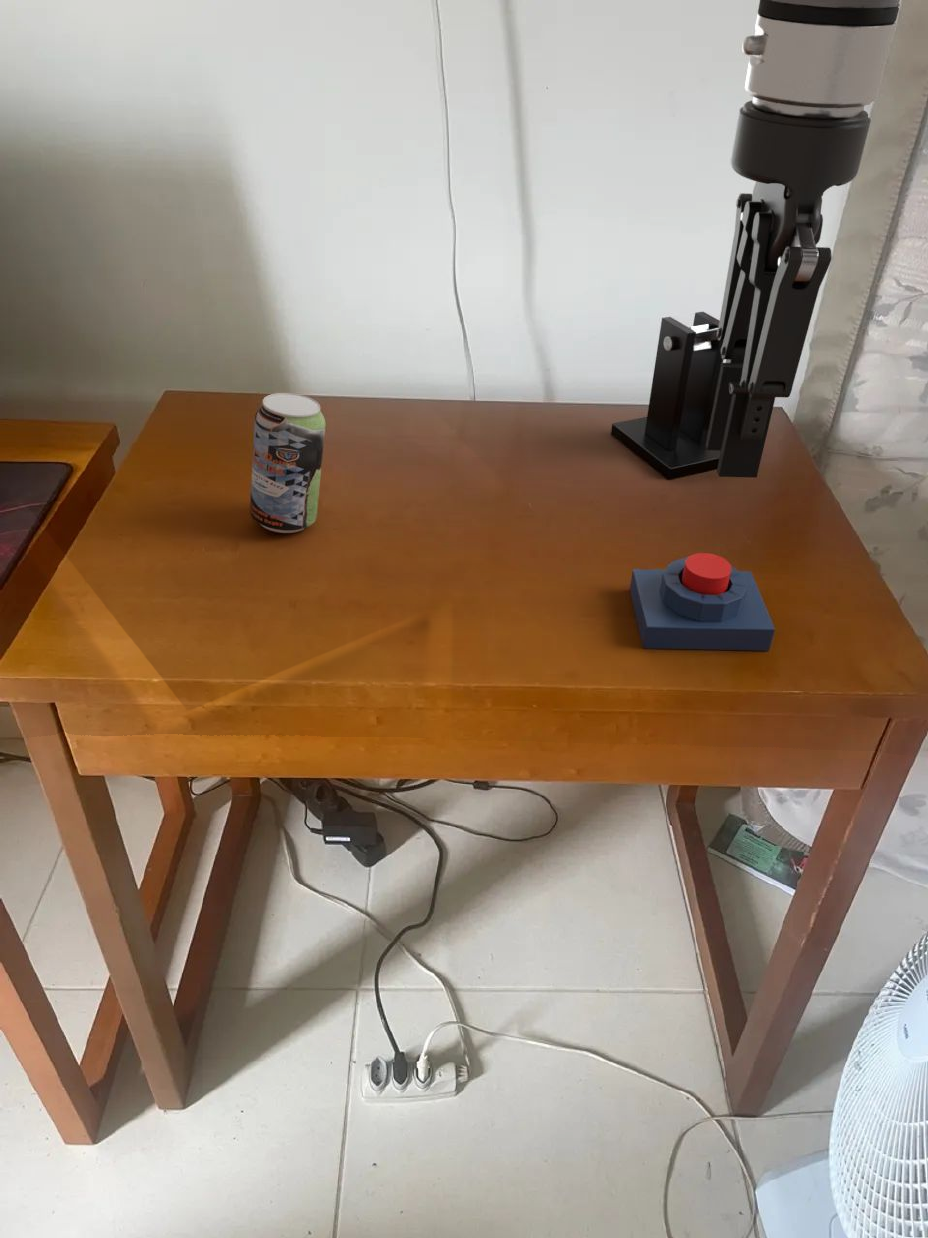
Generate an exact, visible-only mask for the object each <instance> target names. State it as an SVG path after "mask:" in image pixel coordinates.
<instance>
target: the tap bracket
mask: <svg viewBox="0 0 928 1238" xmlns="http://www.w3.org/2000/svg"><path fill="white" fill-rule="evenodd" d="M719 322H720V319H717V318H716V317H714V316H712V315H710V314H708V313H707V312H705V311H698V312H695V313H694V318H693V324H692V326H698V325H704V324H709V330H711V329H715V328H719ZM689 327H690V326H688V325H686V324H683V323H682V322H680V321H678V320H677V319H675V318H673V317H671V316H665V317H661V322H660V329H659V335H658V340H657V341H658V342H657V347H656V355H655V362H654V368H653V373H652V374H653V375H652V381H651V388H650V395H649V402H648V407H647V413H646V414H647V416H643V417H638V418H634V419H627V420H623V421H618V422H613V423H612V424H611V429H610V435H611V436H612V437H614V438H615V439H616V440H618V441H619V442H620V443H621V444H623V445H624V446H625V447H626V448H627V449H629V450H630V451H632V452H633V453H634V454H635V455H637V456H638V457H639V458H640V459H642V460H643V461H644V462H645V463H646V464H648V465H649V466H651V468H653V469H654V470H655V471H657V472H658V474H660V475H662V476H663V477H664V478H665V479H667V480H674V479H678V478H683V477H687V476H691V475H695V474H700V473H704V472H710V471H714V470H717V468H718V463H719V458H720V454H721V450H707V448H706V441H707V436H708V430H709V425H710V420H711V415H712V410H713V405H714V400H715V394H716V389H717V384H718V379H719V374H720V369H721V363H724V360H725V359H722V356H721V347H722V345H723V341H718V340H713V341H711V349H708V350H703V351H699V352H694V353H693V348H694V342H695V336H696V332H695V331H694V330H692V329H690V328H689Z"/></svg>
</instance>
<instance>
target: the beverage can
mask: <svg viewBox="0 0 928 1238" xmlns="http://www.w3.org/2000/svg"><path fill="white" fill-rule="evenodd" d="M325 433H326V419H325V416H324V414H323V413H322V411H321V405H320V403H319V402H318V401H317V400H315V399H313V398H311V397H309V396H306V395H303V394H299V393H293V392H292V393H291V392H277V393H271V394H269V395H266V396H264V398H263V399H262V404H261V405H260V406H259V407H258V408H257V410H256V412H255V414H254V425H253V444H252V462H251V463H252V464H251V479H250V480H251V483H250V484H251V485H250V499H249V500H250V501H249V514H250V516H251V517H250V518H252V519H253V520H254V521H255V522H256V523H258V524H259V525H260V526H261V527H263V528H264V529H266V530H268V531H271V532H273V533H274V532H275V533H280V534H281V533H282V534H292V533H297V532H300V531H303V530H305V529H306V528H308V527H311V526H312V525H313V524H315V522H316V520H317V517H318V507H319V496H320V485H321V475H322V466H323V465H322V463H323V454H324V444H325Z"/></svg>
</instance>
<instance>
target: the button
mask: <svg viewBox="0 0 928 1238" xmlns="http://www.w3.org/2000/svg"><path fill="white" fill-rule="evenodd" d="M687 557H688V558H687V559H686V561H685V565H684V570H683V576H682V583H683V585H684V586H685V587H686V588H687V589H689V590H690V591H693V592H696V593H699V594H702V595H719V594H722V593H724V592H725V591H726V590H727V587H728V583H729V578H730V574H731V566H732V565H731V563H729V561H728V560H727V559H726V558H723V557H722V556H719V555H718V554H713V553H708V552H698V553H694V554H691V555H689V556H687Z"/></svg>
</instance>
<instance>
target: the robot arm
mask: <svg viewBox="0 0 928 1238" xmlns="http://www.w3.org/2000/svg"><path fill="white" fill-rule="evenodd" d="M900 1H901V0H759V4H758V9H757V16H756V20H755V27H754V28H755V32H754V35H749V36H745V37H744V39H743V40H742V46H741V52H742V53H743V55H746V56H750V57H749V60H748V65H747V71H746V78H745V82H744V90H745V91H746V93H747V94H749V96H751V97H752V100H749V101H747V102H745V103H744V104H743V106H742V107H740V108H739V111H738V117H737V121H736V128H735V133H734V139H733V144H732V148H731V149H732V150H731V156H730V165H731V168H732V169H733V171H734V172H735V173H736V174H738V175H739V176H741V177H743V178H744V179H745V178H746V179H748V180H749V181H750V180H751V181H753V182H755V184H754V186H753V189H752V193H745V192H744V193H742V192H740V193H739V194H738V197H737V199H736V201H735V207H736V211H735V223H734V232H733V238H732V245H731V251H730V257H729V262H728V268H727V274H726V275H727V276H726V280H725V285H724V286H725V287H724V293H723V299H722V303H721V310H720V316H719V321H720V322H719V328H718V330H717V338H718V341H723V345H722V347H721V356H722V359H724V360H725V362H723V363H721V369H720V374H719V379H718V384H717V389H716V394H715V400H714V405H713V410H712V415H711V420H710V425H709V430H708V436H707V441H706V448H707V450H721V454H720V458H719V463H718V468H717V469H716V473H717V475H718V477H720V478H754V479H755V478H758V473H759V469H760V465H761V460H762V457H763V453H764V448H765V444H766V441H767V435H768V431H769V427H770V423H771V418H772V414H773V409H774V406H775V401H776V398H790V396H791V393H792V391H793V386H794V383H795V379H796V375H797V371H798V368H799V364H800V360H801V357H802V353H803V349H804V346H805V342H806V338H807V336H808V335H807V334H808V332H809V328H810V325H811V324H810V323H811V320H812V316H813V314H814V313H813V312H814V308H815V304H816V302H817V298H818V294H819V291H820V288H821V285H822V283H823V281H824V279H825V276H826V273H827V272H828V270H829V267H830V264H831V262H832V260H833V257H832V249H831V247H827V246H825V247H824V246H822V247H821V246H817V245H818V243H819V242H820V240H821V235H822V231H823V226H824V225H823V224H824V218H823V217H824V216H823V214H822V206H823V205H822V204H823V195H824V193H825V192H826V191H827V190H829V189H830V188H832V187H834V186H835V187H840V186H843V185H847V184H848V183H850V182H852V181H853V180H854V179H855V178H856V176H857V175H858V173H859V169H860V165H861V161H862V158H863V153H864V149H865V145H866V143H867V142H866V141H867V137H868V133H869V129H870V126H871V123H872V121H871V118H870V117H869V113H868V111H866V110H864V109H865V106H868V105H870V104H872V103H873V102H874V101H876V100H877V99H878V98H879V95H880V90H881V86H882V82H883V80H884V79H883V78H884V74H885V70H886V67H887V62H888V58H889V55H890V51H891V47H892V43H893V38H894V35H895V31H896V27H897V22H896V21H897V19H898V14H899V11H900V6H901V5H900Z"/></svg>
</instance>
